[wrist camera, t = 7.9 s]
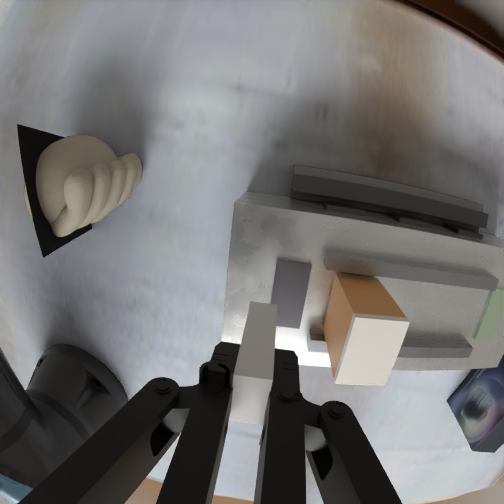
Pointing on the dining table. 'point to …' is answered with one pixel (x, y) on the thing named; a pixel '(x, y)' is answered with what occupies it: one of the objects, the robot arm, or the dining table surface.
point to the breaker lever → (362, 330)
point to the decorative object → (72, 183)
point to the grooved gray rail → (385, 197)
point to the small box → (481, 408)
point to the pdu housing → (369, 265)
